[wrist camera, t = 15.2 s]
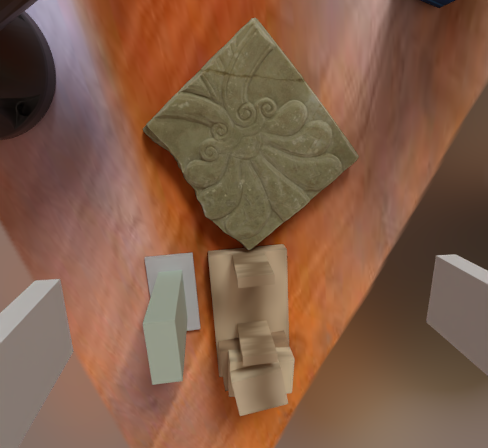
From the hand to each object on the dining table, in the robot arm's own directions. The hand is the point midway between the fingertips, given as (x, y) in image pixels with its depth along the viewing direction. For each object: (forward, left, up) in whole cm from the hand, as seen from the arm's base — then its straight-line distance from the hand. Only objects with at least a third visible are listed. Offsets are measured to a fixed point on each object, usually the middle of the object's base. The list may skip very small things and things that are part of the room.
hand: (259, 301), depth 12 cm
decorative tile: (+4, +3, -32) cm, 33 cm away
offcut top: (+3, -25, -24) cm, 35 cm away
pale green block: (-7, -15, -31) cm, 35 cm away
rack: (+3, -19, -31) cm, 37 cm away
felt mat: (-7, -15, -31) cm, 36 cm away
